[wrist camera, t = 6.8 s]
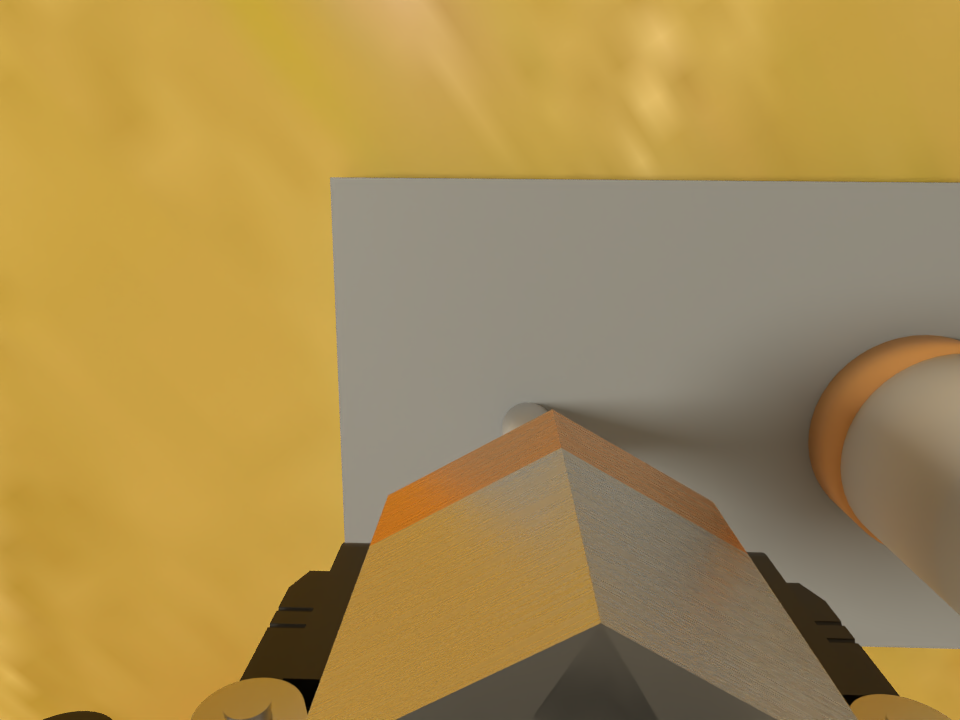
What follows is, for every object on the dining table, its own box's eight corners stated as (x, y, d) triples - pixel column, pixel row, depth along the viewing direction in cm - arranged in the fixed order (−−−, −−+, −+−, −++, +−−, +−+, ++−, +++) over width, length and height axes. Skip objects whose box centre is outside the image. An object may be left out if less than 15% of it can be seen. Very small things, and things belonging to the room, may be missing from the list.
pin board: (342, 177, 21) (232, 173, 12) (1116, 184, 20) (1561, 184, 12) (358, 606, 24) (280, 834, 16) (1022, 622, 23) (1316, 868, 15)
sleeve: (393, 731, 14) (312, 1143, 8) (385, 406, 12) (277, 615, 6) (691, 740, 13) (836, 1166, 8) (720, 411, 12) (932, 630, 6)
